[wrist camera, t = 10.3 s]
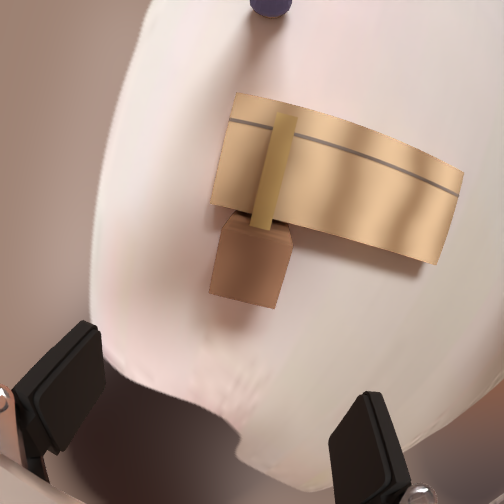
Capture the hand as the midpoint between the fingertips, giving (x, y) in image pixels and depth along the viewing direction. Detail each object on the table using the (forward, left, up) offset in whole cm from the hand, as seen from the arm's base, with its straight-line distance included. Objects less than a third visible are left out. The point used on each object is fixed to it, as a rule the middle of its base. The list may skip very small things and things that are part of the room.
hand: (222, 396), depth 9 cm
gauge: (0, -4, -20) cm, 20 cm away
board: (-7, -8, -20) cm, 23 cm away
